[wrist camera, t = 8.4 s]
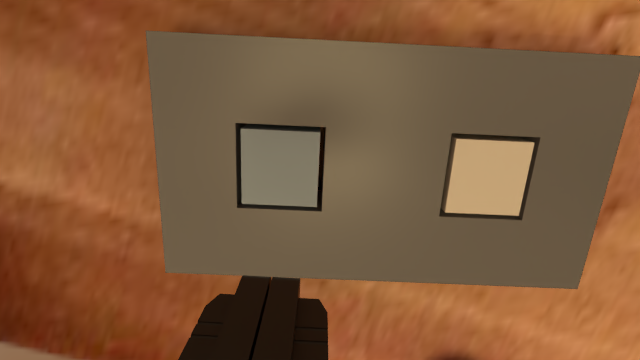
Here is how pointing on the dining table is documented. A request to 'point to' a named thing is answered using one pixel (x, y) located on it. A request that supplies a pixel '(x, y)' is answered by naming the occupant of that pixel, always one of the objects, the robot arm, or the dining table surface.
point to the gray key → (280, 164)
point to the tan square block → (486, 174)
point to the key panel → (382, 156)
